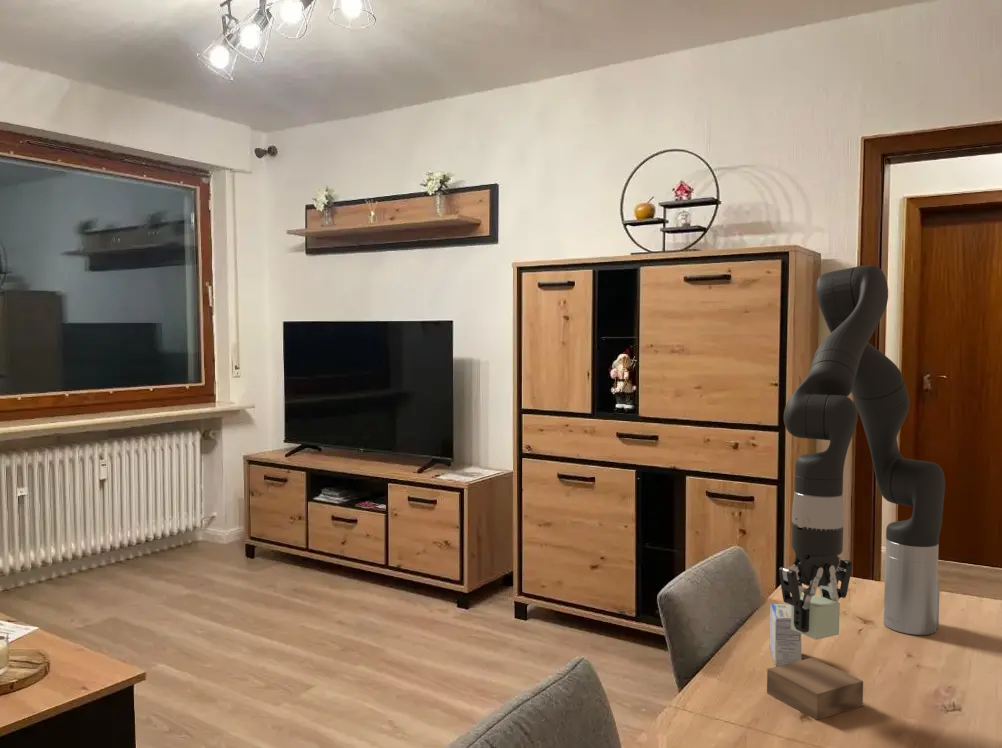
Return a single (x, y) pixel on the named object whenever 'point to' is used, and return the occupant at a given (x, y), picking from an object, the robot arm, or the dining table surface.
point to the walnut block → (815, 688)
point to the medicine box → (783, 636)
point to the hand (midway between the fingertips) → (814, 627)
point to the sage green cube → (820, 618)
